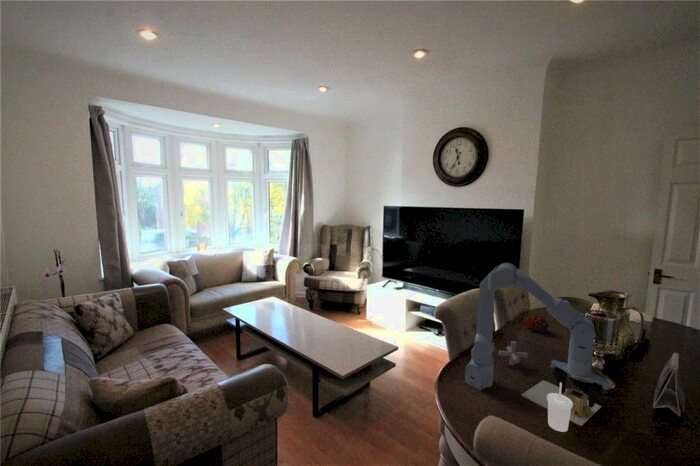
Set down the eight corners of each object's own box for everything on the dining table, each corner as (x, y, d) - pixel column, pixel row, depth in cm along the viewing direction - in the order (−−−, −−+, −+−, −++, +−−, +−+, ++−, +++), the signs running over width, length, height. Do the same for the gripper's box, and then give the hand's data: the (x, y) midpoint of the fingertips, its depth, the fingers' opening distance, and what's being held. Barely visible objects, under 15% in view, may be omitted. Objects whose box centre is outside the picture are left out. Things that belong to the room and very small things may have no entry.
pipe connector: (530, 374, 116) (532, 349, 115) (501, 372, 118) (503, 346, 117) (521, 361, 126) (523, 337, 124) (495, 358, 128) (496, 335, 126)
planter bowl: (599, 328, 156) (601, 307, 155) (563, 325, 160) (564, 305, 159) (583, 316, 172) (585, 297, 170) (550, 314, 175) (552, 295, 174)
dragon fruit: (549, 338, 149) (522, 333, 158) (553, 324, 153) (527, 320, 162) (543, 327, 146) (517, 322, 155) (548, 312, 150) (522, 309, 159)
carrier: (580, 429, 89) (582, 416, 88) (520, 397, 103) (521, 386, 102) (601, 409, 97) (602, 397, 96) (543, 382, 111) (543, 372, 110)
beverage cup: (546, 418, 93) (550, 374, 92) (571, 428, 89) (575, 382, 88) (542, 429, 89) (546, 383, 87) (569, 440, 85) (572, 392, 83)
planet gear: (584, 420, 91) (585, 404, 90) (557, 406, 97) (558, 391, 96) (594, 411, 95) (595, 395, 94) (567, 398, 101) (568, 383, 100)
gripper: (615, 363, 90) (610, 407, 91) (559, 344, 102) (556, 383, 103) (605, 371, 86) (601, 416, 88) (548, 350, 98) (546, 390, 100)
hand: (576, 399), depth 95 cm, fingers open, 7 cm apart
